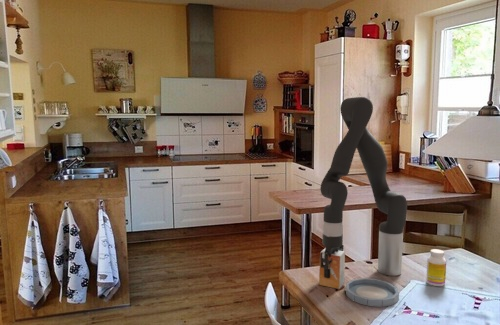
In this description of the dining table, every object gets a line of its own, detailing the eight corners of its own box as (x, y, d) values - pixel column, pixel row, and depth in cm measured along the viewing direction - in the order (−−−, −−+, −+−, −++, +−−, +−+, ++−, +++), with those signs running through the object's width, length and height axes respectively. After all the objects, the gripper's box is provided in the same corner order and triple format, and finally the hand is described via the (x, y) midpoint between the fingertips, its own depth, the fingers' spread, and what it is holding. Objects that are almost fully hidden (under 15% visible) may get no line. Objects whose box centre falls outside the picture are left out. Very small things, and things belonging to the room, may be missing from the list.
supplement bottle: (447, 287, 153) (449, 254, 151) (428, 286, 154) (430, 253, 153) (442, 280, 159) (444, 248, 158) (424, 279, 161) (426, 247, 159)
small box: (318, 285, 156) (319, 252, 154) (324, 279, 161) (325, 247, 159) (339, 289, 152) (340, 256, 150) (344, 283, 157) (345, 250, 155)
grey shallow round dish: (359, 280, 160) (359, 274, 159) (405, 293, 148) (405, 286, 148) (337, 296, 146) (337, 290, 146) (386, 312, 135) (386, 305, 134)
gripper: (332, 226, 162) (332, 266, 164) (314, 235, 151) (313, 278, 153) (350, 230, 157) (349, 271, 159) (332, 239, 146) (331, 283, 148)
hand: (331, 274), depth 156 cm, fingers closed on small box, 7 cm apart
